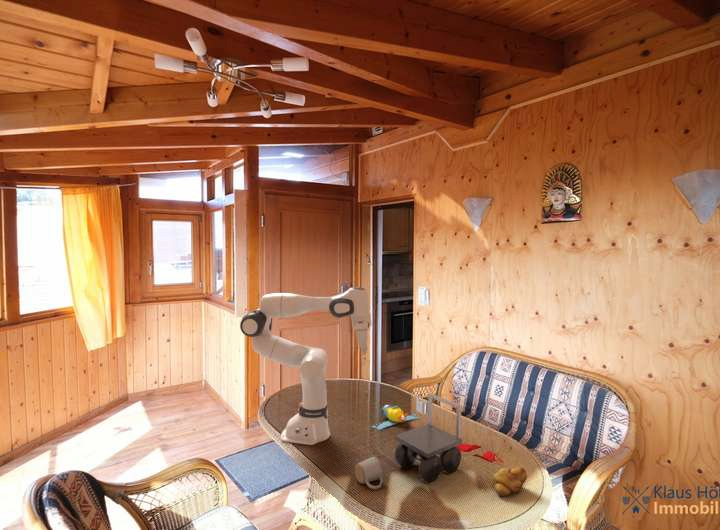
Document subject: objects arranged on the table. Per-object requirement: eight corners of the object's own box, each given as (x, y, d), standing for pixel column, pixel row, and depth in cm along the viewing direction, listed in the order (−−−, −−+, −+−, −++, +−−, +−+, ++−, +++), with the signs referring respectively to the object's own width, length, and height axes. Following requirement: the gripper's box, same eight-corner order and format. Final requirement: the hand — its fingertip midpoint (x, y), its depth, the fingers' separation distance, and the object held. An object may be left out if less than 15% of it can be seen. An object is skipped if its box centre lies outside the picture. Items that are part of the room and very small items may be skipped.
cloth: (513, 461, 169) (513, 455, 169) (492, 472, 161) (492, 466, 161) (462, 437, 190) (462, 432, 190) (442, 446, 182) (442, 441, 182)
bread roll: (506, 502, 141) (507, 480, 140) (483, 489, 149) (484, 467, 148) (529, 490, 148) (529, 468, 148) (506, 477, 156) (506, 457, 156)
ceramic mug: (353, 478, 155) (353, 459, 155) (371, 472, 160) (371, 453, 159) (369, 493, 146) (369, 472, 146) (387, 486, 151) (387, 465, 150)
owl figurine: (380, 416, 192) (362, 406, 205) (380, 434, 192) (362, 424, 205) (425, 404, 208) (406, 395, 220) (425, 421, 208) (406, 411, 221)
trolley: (425, 489, 148) (426, 418, 147) (392, 467, 163) (392, 403, 162) (463, 470, 161) (464, 405, 160) (429, 452, 175) (430, 392, 174)
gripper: (355, 319, 197) (359, 347, 198) (353, 327, 177) (356, 359, 178) (369, 317, 197) (372, 346, 198) (367, 325, 177) (371, 357, 177)
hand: (364, 352), depth 187 cm, fingers open, 8 cm apart
